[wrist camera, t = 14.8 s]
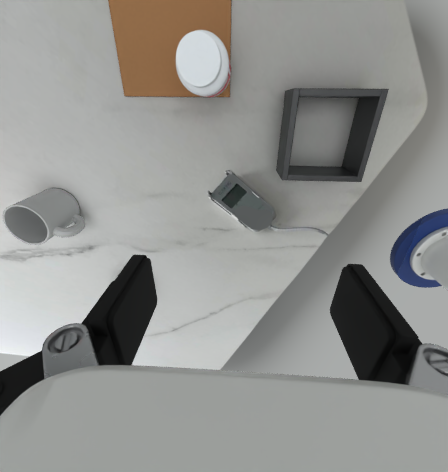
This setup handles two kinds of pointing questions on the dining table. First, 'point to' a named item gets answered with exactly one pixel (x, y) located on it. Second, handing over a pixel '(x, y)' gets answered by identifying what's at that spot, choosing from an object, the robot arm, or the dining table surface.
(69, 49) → the dining table surface
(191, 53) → the pill bottle
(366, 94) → the bin
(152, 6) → the cork mat
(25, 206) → the cup
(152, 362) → the dining table surface
